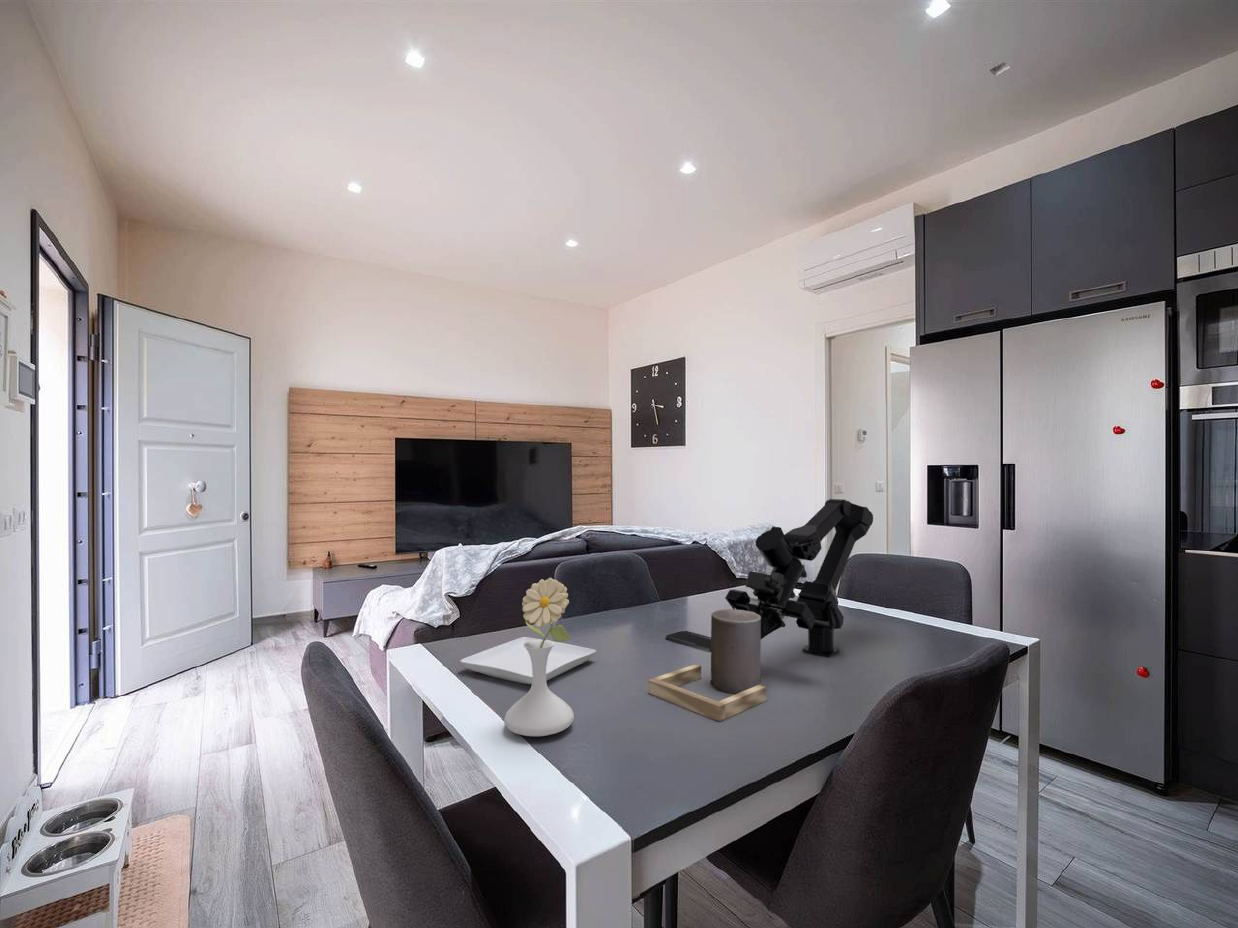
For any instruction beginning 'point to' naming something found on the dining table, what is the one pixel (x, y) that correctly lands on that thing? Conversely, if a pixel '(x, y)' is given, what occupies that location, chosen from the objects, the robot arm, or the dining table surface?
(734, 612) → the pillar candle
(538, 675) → the flower in vase
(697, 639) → the phone
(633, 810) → the dining table surface
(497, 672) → the salad plate
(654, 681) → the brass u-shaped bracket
